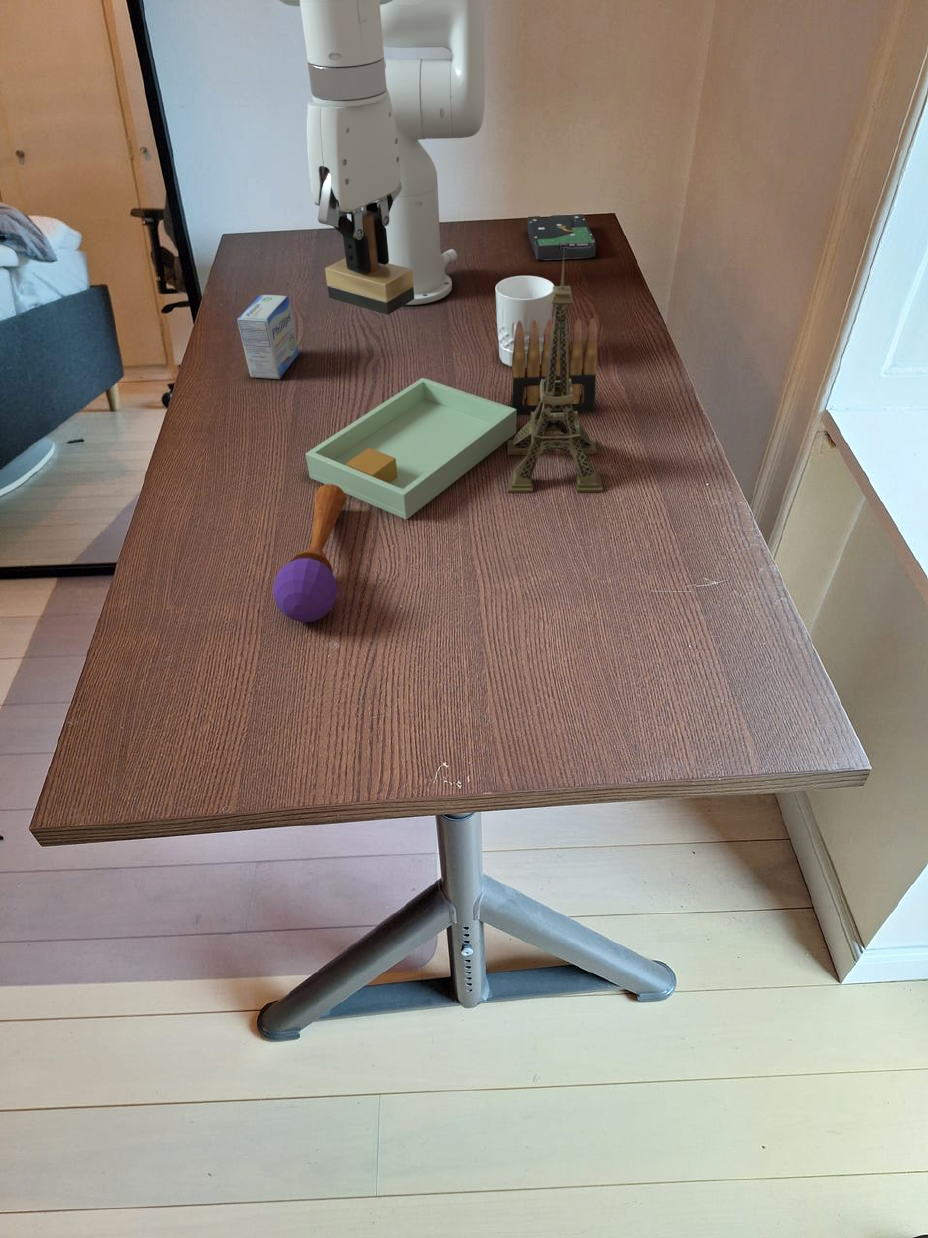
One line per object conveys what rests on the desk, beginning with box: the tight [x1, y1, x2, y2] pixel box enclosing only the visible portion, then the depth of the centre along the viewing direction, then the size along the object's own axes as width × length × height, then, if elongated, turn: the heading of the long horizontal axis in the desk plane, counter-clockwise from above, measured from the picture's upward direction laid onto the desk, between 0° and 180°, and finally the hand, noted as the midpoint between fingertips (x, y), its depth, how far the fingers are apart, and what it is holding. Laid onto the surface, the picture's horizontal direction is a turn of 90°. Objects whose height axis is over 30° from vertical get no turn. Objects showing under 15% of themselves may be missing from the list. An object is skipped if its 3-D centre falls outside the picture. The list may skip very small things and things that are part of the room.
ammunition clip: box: [509, 317, 598, 416], centre depth 105 cm, size 11×2×12 cm, turn 92°
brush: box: [324, 209, 414, 316], centre depth 97 cm, size 5×9×10 cm, turn 55°
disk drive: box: [526, 213, 597, 261], centre depth 150 cm, size 10×3×15 cm
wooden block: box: [346, 448, 397, 483], centre depth 96 cm, size 4×4×2 cm
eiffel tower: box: [507, 247, 603, 494], centre depth 91 cm, size 11×11×25 cm
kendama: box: [272, 484, 347, 623], centre depth 86 cm, size 6×6×20 cm
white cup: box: [494, 275, 555, 369], centre depth 116 cm, size 8×8×10 cm
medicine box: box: [237, 294, 300, 380], centre depth 117 cm, size 8×4×9 cm, turn 168°
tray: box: [305, 377, 517, 520], centre depth 101 cm, size 22×15×3 cm
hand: (368, 264), depth 97 cm, fingers closed on brush, 2 cm apart
